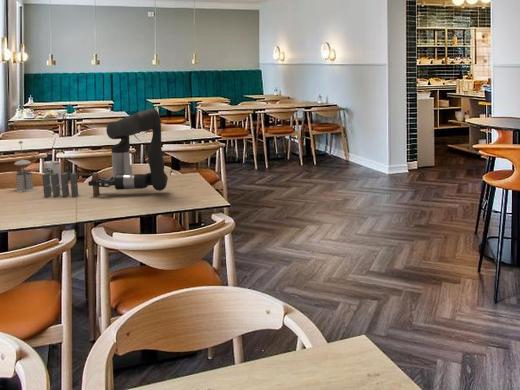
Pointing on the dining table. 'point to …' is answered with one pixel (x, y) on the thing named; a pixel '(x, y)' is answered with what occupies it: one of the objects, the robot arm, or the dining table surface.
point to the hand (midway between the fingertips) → (90, 182)
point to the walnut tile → (95, 188)
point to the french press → (24, 176)
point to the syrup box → (52, 170)
